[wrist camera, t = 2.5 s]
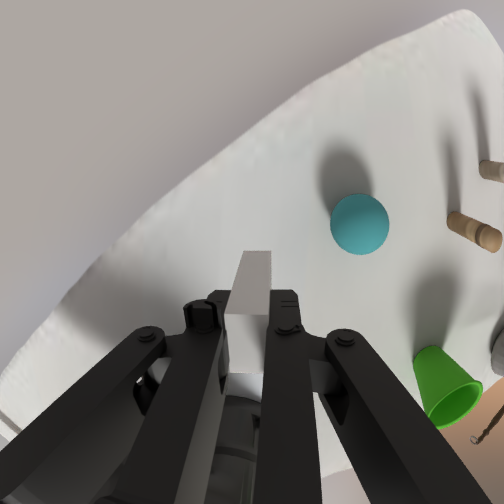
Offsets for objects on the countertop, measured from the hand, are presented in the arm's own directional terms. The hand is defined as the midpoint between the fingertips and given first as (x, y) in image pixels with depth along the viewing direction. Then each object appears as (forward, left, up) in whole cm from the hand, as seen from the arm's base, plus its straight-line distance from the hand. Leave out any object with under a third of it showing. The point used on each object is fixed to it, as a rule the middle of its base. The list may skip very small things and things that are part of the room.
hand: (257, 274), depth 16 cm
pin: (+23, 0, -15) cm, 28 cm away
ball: (+9, 0, -12) cm, 16 cm away
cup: (+24, -21, -16) cm, 36 cm away
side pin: (+28, +7, -15) cm, 33 cm away
